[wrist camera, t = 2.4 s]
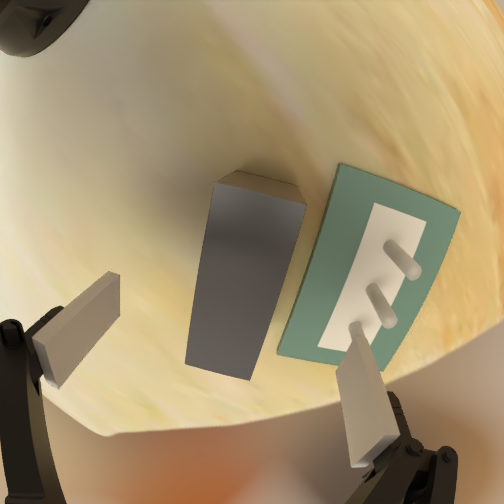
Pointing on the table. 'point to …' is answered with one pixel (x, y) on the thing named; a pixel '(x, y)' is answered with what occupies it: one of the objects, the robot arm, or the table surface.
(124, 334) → the table surface
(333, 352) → the green peg board
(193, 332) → the block
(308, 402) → the table surface
